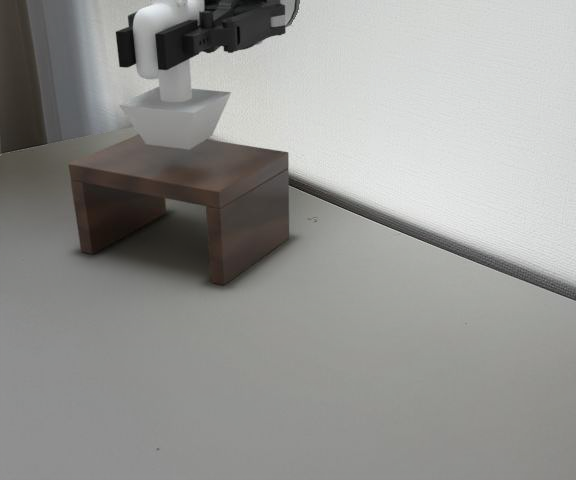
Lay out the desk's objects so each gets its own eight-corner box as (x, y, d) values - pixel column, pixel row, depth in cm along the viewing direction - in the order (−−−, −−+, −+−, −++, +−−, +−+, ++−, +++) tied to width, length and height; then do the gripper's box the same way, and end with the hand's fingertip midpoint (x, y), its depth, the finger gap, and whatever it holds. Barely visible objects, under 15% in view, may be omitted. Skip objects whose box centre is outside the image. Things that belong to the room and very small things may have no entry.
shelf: (80, 251, 82) (67, 163, 78) (155, 211, 91) (148, 129, 87) (223, 285, 76) (218, 191, 71) (289, 238, 85) (288, 151, 80)
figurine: (116, 150, 76) (94, -40, 68) (169, 122, 83) (155, -53, 75) (190, 159, 73) (176, -37, 65) (238, 129, 81) (230, -50, 73)
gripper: (321, 47, 88) (236, 106, 69) (178, 39, 92) (61, 92, 73) (322, -35, 84) (231, 3, 65) (172, -39, 88) (46, -4, 69)
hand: (141, 50), depth 69 cm, fingers closed on figurine, 3 cm apart
